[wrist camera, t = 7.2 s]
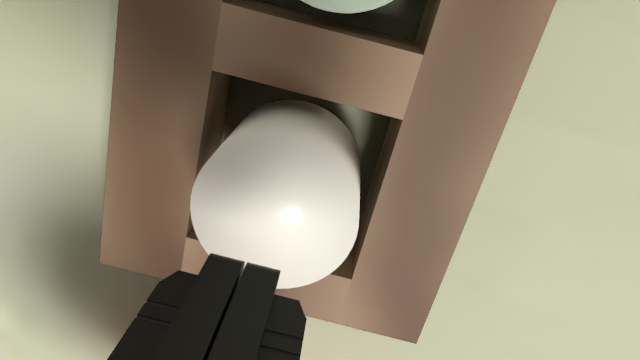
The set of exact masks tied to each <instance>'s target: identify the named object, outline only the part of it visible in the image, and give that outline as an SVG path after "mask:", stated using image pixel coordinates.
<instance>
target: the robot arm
mask: <svg viewBox="0 0 640 360" xmlns="http://www.w3.org/2000/svg"><path fill="white" fill-rule="evenodd" d="M244 266H245V261H241V260H237V259H233V258H229V257H225V256H221V255H217V254H213V253H210V255H209V256H208V258H207V260H206V261H205V263H204V265H203V267H202V269H201V270H200V272H199V274H198V275H196V274H192V273H188V272H184V271H180V270H178V271H176V272H175V273H173V274H172V275H170V276H168V277H167V278H165V279H163V280H162V281H160V282H159V283H158V284H157V286H156V287H155V289H154V290H153V292H152V293H151V295H150V296H149V298H148V299H147V302H146V303H145V304H144V305H143V307H142V308H141V310H140V311H139V313H138V314H137V318H135V319H134V320H133V322H132V323H131V325H130V326H129V328H128V329H127V331H126V332H125V334H124V335H123V337H122V338H121V340H120V341H119V343H118V344H117V346H116V347H115V349H114V350H113V352H112V353H111V355H110V356H109V358H108V359H107V360H300V354H301V348H302V341H303V336H304V330H305V324H306V317H305V314H304V312H303V309H302V307H301V304H300V301H299V300H295V299H291V298H287V297H284V296H280V295H276V294H275V292H276V288H277V284H278V280H279V276H280V271H281V270H277V269H273V268H269V267H265V266H261V265H257V264H253V263H249V262H247V264H246V266H245V268H244Z"/></svg>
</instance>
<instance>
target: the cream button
mask: <svg viewBox="0 0 640 360" xmlns="http://www.w3.org/2000/svg"><path fill="white" fill-rule="evenodd" d="M360 178H361V162H360V155H359V150H358V147H357V144H356V142H355V140H354V138H353V136H352V134H351V133H350V131H349V130H348V128H347V127H346V126H345V125H344V124H343V122H342V121H341V120H340V119H338V118H337V117H336V116H335V115H334V114H332V113H331V112H329V111H328V110H326V109H324V108H322V107H320V106H318V105H315V104H312V103H309V102H304V101H299V100H282V101H276V102H272V103H269V104H266V105H263V106H261V107H259V108H257V109H255V110H254V111H253V112H251V113H250V114H248V115H247V116H246V117H245V118H244V119H243V120H242V121H241V122H240V123H239V125H238V126H237V127H236V128H235V129H234V130H233V132H232V133H231V134H230V135H229V136H228V137H227V139H226V140H225V141H224V142H223V143H222V144H221V146H220V147H219V148H218V149H217V150H216V152H215V153H214V154H213V155H212V156H211V157H210V159H209V160H208V161H207V162H206V163H205V165H204V166H203V167H202V169H201V170H200V172H199V174H198V176H197V177H196V180H195V183H194V185H193V189H192V193H191V201H190V211H191V219H192V224H193V227H194V230H195V233H196V235H197V237H198V239H199V241H200V243H201V245H202V247H203V248H204V249H205V251H206V252H207V254H208V255H210V253H213V254H217V255H221V256H225V257H229V258H233V259H237V260H241V261H245V266H246V264H247V262H249V263H253V264H257V265H261V266H265V267H269V268H273V269H277V270H281V271H280V276H279V280H278V284H277V288H276V289H289V288H296V287H301V286H305V285H309V284H311V283H314V282H316V281H319V280H321V279H322V278H324V277H326V276H328V275H329V274H330V273H332V272H333V271H334V270H336V269H337V268H338V267H339V266H340V265H341V264H342V263H343V261H344V260H345V259H346V257H347V256H348V255H349V253H350V251H351V249H352V248H353V245H354V243H355V240H356V237H357V233H358V228H359V211H360ZM245 266H244V268H245Z"/></svg>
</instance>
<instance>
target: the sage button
mask: <svg viewBox="0 0 640 360" xmlns="http://www.w3.org/2000/svg"><path fill="white" fill-rule="evenodd" d="M301 1H303V2H305V3H307V4H309V5H311V6H313V7H316V8H319V9H321V10H324V11H330V12H335V13H359V12H364V11H369V10H373V9H376V8H378V7H381V6H384V5H386V4H388V3H389V2H391V1H393V0H301Z"/></svg>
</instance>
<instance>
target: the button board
mask: <svg viewBox="0 0 640 360" xmlns="http://www.w3.org/2000/svg"><path fill="white" fill-rule="evenodd" d="M555 3H556V0H427V3H426V6H425V9H424V13H423V16H422V19H421V22H420V25H419V29H418V32H417V35H416V38H415V42H412V41H408V40H404V39H400V38H397V37H393V36H389V35H385V34H381V33H377V32H374V31H370V30H366V29H362V28H358V27H355V26H351V25H347V24H343V23H339V22H336V21H332V20H328V19H324V18H320V17H317V16H313V15H309V14H305V13H301V12H297V11H294V10H290V9H286V8H282V7H278V6H275V5H271V4H267V3H263V2H259V1H256V0H119V5H118V18H117V32H116V45H115V59H114V72H113V86H112V99H111V113H110V126H109V140H108V153H107V167H106V180H105V194H104V207H103V221H102V235H101V248H100V262H99V263H101V264H105V265H109V266H113V267H116V268H120V269H124V270H128V271H132V272H136V273H140V274H144V275H148V276H152V277H156V278H160V279H165V278H167V277H168V276H170V275H172V274H173V273H175V272H176V271H178V270H180V271H184V272H188V273H192V274H196V275H198V274H199V272H200V270H201V269H202V267H203V265H204V263H205V261H206V260H207V258H208V256H209V255H208V254H207V252H206V251H205V249H204V248H203V247H202V245H201V243H200V241H199V239H198V237H197V235H196V233H195V230H194V227H193V224H192V219H191V211H190V201H191V193H192V189H193V185H194V183H195V180H196V177H197V176H198V174H199V172H200V170H201V169H202V167H203V166H204V165H205V163H206V162H207V161H208V160H209V159H210V157H211V156H212V155H213V154H214V153H215V152H216V150H217V149H218V148H219V147H220V145H221V139H222V133H223V127H224V121H225V116H226V110H227V104H228V98H229V92H230V86H231V80H232V76H236V77H240V78H243V79H247V80H251V81H255V82H259V83H263V84H266V85H270V86H274V87H278V88H282V89H286V90H289V91H293V92H297V93H301V94H305V95H309V96H313V97H316V98H320V99H324V100H328V101H332V102H336V103H339V104H343V105H347V106H351V107H355V108H359V109H362V110H366V111H370V112H374V113H378V114H382V115H386V116H389V117H391V119H390V122H389V126H388V129H387V132H386V135H385V139H384V142H383V145H382V148H381V151H380V155H379V158H378V161H377V164H376V168H375V171H374V174H373V177H372V181H371V184H370V187H369V190H368V193H367V197H366V200H365V203H364V206H363V210H362V213H361V216H360V219H359V228H358V233H357V237H356V240H355V243H354V245H353V248H352V249H351V251H350V253H349V255H348V256H347V257H346V259H345V260H344V261H343V263H342V264H341V265H340V266H339V267H338V268H337V269H336V270H334V271H333V272H332V273H330V274H329V275H328V276H326V277H324V278H322V279H321V280H319V281H316V282H314V283H311V284H309V285H305V286H301V287H296V288H289V289H276V292H275V294H276V295H280V296H284V297H287V298H291V299H295V300H299V301H300V304H301V307H302V309H303V312H304V314H305V316H309V317H313V318H317V319H321V320H325V321H329V322H333V323H336V324H340V325H344V326H348V327H352V328H356V329H360V330H364V331H368V332H372V333H376V334H380V335H384V336H388V337H391V338H395V339H399V340H403V341H407V342H411V343H415V344H416V343H417V341H418V338H419V336H420V333H421V331H422V329H423V326H424V324H425V321H426V319H427V316H428V314H429V311H430V309H431V306H432V304H433V302H434V299H435V297H436V294H437V292H438V289H439V287H440V284H441V282H442V280H443V277H444V275H445V272H446V270H447V267H448V265H449V262H450V260H451V258H452V255H453V253H454V250H455V248H456V245H457V243H458V240H459V238H460V235H461V233H462V231H463V228H464V226H465V223H466V221H467V218H468V216H469V213H470V211H471V209H472V206H473V204H474V201H475V199H476V196H477V194H478V191H479V189H480V186H481V184H482V182H483V179H484V177H485V174H486V172H487V169H488V167H489V164H490V162H491V160H492V157H493V155H494V152H495V150H496V147H497V145H498V142H499V140H500V137H501V135H502V133H503V130H504V128H505V125H506V123H507V120H508V118H509V115H510V113H511V111H512V108H513V106H514V103H515V101H516V98H517V96H518V93H519V91H520V88H521V86H522V84H523V81H524V79H525V76H526V74H527V71H528V69H529V66H530V64H531V62H532V59H533V57H534V54H535V52H536V49H537V47H538V44H539V42H540V39H541V37H542V35H543V32H544V30H545V27H546V25H547V22H548V20H549V17H550V15H551V13H552V10H553V8H554V5H555Z"/></svg>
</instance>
